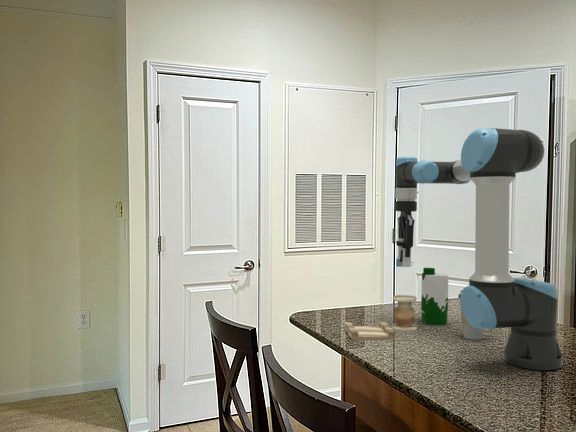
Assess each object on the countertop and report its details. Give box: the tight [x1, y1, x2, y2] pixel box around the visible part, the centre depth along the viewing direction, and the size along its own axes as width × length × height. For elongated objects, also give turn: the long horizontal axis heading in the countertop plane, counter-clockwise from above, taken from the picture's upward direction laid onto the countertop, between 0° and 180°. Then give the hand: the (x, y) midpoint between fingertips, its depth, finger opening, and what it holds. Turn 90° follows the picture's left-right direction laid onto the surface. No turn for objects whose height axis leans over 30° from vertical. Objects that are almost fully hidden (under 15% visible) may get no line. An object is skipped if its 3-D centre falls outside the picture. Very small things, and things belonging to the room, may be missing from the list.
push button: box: [395, 238, 415, 268], centre depth 197 cm, size 7×5×10 cm
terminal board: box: [344, 321, 397, 341], centre depth 182 cm, size 14×14×3 cm
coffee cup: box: [457, 290, 485, 341], centre depth 179 cm, size 9×9×15 cm
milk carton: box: [420, 267, 449, 326], centre depth 198 cm, size 9×9×20 cm
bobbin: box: [390, 294, 418, 332], centre depth 190 cm, size 9×9×11 cm
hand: (405, 265), depth 198 cm, fingers closed on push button, 3 cm apart
